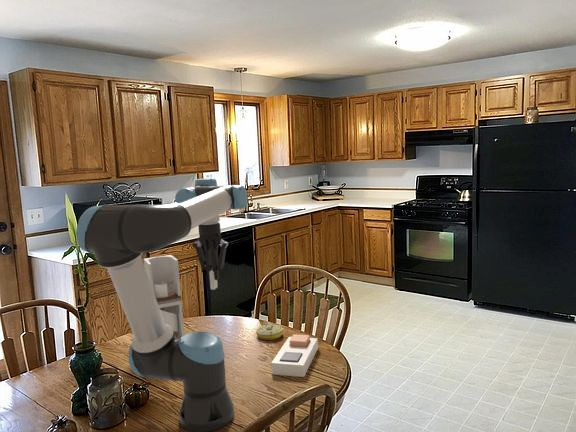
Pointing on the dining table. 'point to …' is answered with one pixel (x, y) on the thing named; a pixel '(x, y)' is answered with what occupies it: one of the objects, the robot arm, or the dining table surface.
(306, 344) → the terracotta key
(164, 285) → the display case
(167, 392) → the dining table surface
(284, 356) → the charcoal key
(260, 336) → the decorated donut
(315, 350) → the key panel
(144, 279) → the robot arm
